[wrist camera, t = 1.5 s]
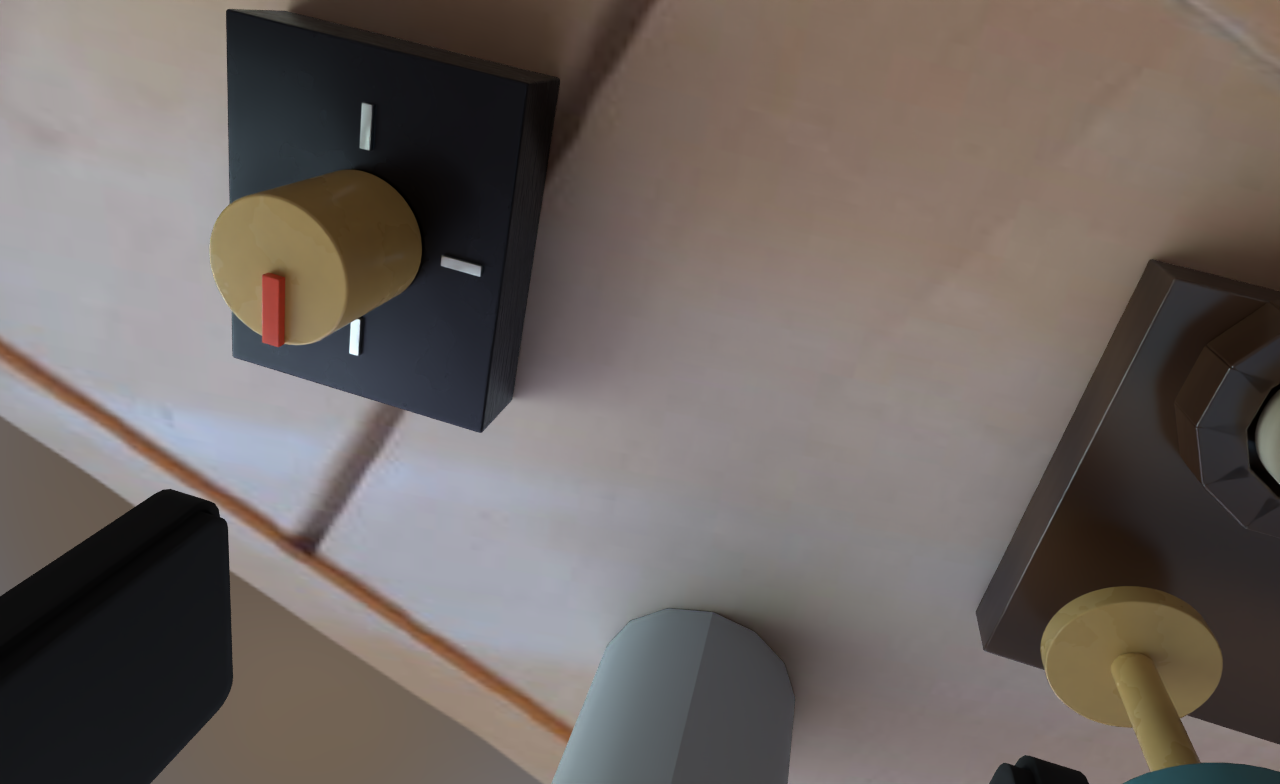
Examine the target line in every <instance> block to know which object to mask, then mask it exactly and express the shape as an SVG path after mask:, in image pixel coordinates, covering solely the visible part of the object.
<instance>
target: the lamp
mask: <svg viewBox="0 0 1280 784" xmlns="http://www.w3.org/2000/svg"><path fill="white" fill-rule="evenodd" d="M1040 651H1041V659H1042V662H1043V666H1044V669H1045V673H1046V676H1047V680H1048V682H1049V684H1050V686H1051V688H1052V690H1053V691H1054V693H1055V694H1056V696H1057V697H1058V698H1059V699H1060V700H1061V701H1062V702H1063V703H1064V704H1065V705H1066V706H1068V707H1069V708H1070V709H1072V710H1073V711H1075V712H1076V713H1078V714H1080V715H1082V716H1084V717H1086V718H1088V719H1090V720H1093V721H1096V722H1099V723H1102V724H1106V725H1111V726H1117V727H1128V728H1133V729H1134V731H1135V734H1136V736H1137V739H1138V741H1139V744H1140V746H1141V749H1142V751H1143V754H1144V756H1145V759H1146V762H1147V764H1148V767H1149V769H1150V772H1149V773H1146V774H1143V775H1141V776H1138V777H1136V778H1133V779H1131V780H1129V781H1127V782H1125V783H1123V784H1280V772H1278V771H1274V770H1271V769H1267V768H1262V767H1256V766H1251V765H1245V764H1233V763H1201V762H1200V760H1199V758H1198V756H1197V754H1196V752H1195V750H1194V747H1193V745H1192V743H1191V741H1190V739H1189V737H1188V735H1187V733H1186V730H1185V728H1184V726H1183V724H1182V722H1181V720H1180V718H1182V717H1184V716H1186V715H1188V714H1189V713H1191V712H1193V711H1194V710H1196V709H1197V708H1199V707H1200V706H1201V705H1202V704H1203V703H1204V702H1206V701H1207V700H1208V699H1209V697H1210V696H1211V695H1212V694H1213V692H1214V691H1215V689H1216V687H1217V686H1218V684H1219V681H1220V678H1221V675H1222V669H1223V657H1222V652H1221V649H1220V646H1219V644H1218V641H1217V640H1216V638H1215V636H1214V635H1213V633H1212V631H1211V630H1210V628H1209V626H1208V625H1207V623H1206V621H1205V620H1204V618H1203V617H1202V616H1201V615H1200V614H1199V613H1198V612H1197V611H1196V610H1195V609H1194V608H1193V607H1192V606H1191V605H1189V604H1188V603H1186V602H1184V601H1183V600H1181V599H1179V598H1177V597H1175V596H1173V595H1171V594H1169V593H1166V592H1163V591H1160V590H1156V589H1152V588H1146V587H1139V586H1118V587H1110V588H1104V589H1100V590H1096V591H1092V592H1090V593H1087V594H1084V595H1082V596H1080V597H1078V598H1076V599H1074V600H1072V601H1071V602H1069V603H1068V604H1066V605H1065V606H1064V607H1063V608H1061V609H1060V610H1059V611H1058V612H1057V613H1056V614H1055V615H1054V616H1053V617H1052V619H1051V620H1050V622H1049V623H1048V625H1047V626H1046V629H1045V631H1044V633H1043V636H1042V640H1041V649H1040Z"/></svg>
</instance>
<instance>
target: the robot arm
mask: <svg viewBox="0 0 1280 784" xmlns="http://www.w3.org/2000/svg"><path fill="white" fill-rule="evenodd" d="M232 681H233V665H232V635H231V605H230V575H229V545H228V526H227V522H226V521H225V519H223V518H221V517H220V515H219V509H218V508H217V506H216V505H215V503H212V502H210V501H207V500H204V499H201V498H198V497H194V496H191V495H188V494H185V493H182V492H178V491H175V490H172V489H167V490H162V491H160V492H158V493H156V494H154V495H152V496H151V497H149V498H148V499H146V500H145V501H143V502H142V503H140V504H139V505H137V506H136V507H134V508H133V509H131V510H130V511H128V512H127V513H125V514H124V515H122V516H121V517H119V518H118V519H116V520H115V521H114V522H112V523H111V524H109V525H107V526H106V527H104V528H103V529H101V530H100V531H98V532H97V533H95V534H94V535H92V536H91V537H89V538H88V539H86V540H85V541H83V542H82V543H80V544H79V545H77V546H76V547H74V548H73V549H71V550H69V551H68V552H66V553H65V554H64V555H62V556H60V557H59V558H57V559H56V560H54V561H53V562H51V563H50V564H48V565H47V566H45V567H44V568H42V569H41V570H39V571H38V572H36V573H35V574H33V575H32V576H30V577H29V578H27V579H26V580H24V581H23V582H21V583H20V584H18V585H17V586H15V587H14V588H12V589H11V590H9V591H8V592H6V593H5V594H3V595H2V596H0V784H150V783H151V782H152V781H153V780H154V779H155V778H156V777H157V776H158V775H159V773H161V771H162V770H163V769H164V768H165V767H166V766H167V765H168V764H169V763H170V762H171V761H172V760H173V759H174V757H175V756H176V755H177V754H178V753H179V752H180V751H181V750H182V749H183V748H184V747H185V746H186V745H187V743H188V742H189V741H190V740H191V739H192V738H193V737H194V736H195V735H196V734H197V733H198V732H199V731H200V730H201V728H202V727H203V726H204V725H205V724H206V723H207V722H208V721H209V720H210V719H211V718H212V716H214V714H215V713H216V712H217V711H218V710H219V709H220V707H221V706H222V705H223V703H224V702H225V700H226V698H227V697H228V694H229V692H230V689H231V686H232ZM989 784H1089V783H1088V780H1087V778H1086V777H1085V776H1084V775H1083V774H1082V773H1081V772H1080V771H1076V770H1073V769H1070V768H1067V767H1064V766H1060V765H1057V764H1054V763H1051V762H1047V761H1044V760H1041V759H1038V758H1035V757H1031V756H1026V755H1025V756H1023V757H1021V758H1020V759H1019V760H1018V761H1017V763H1016V764H1015V766H1014V765H1010V764H1007V763H1003V764H1001V765H1000V766H999V767H998V769H997V770H996V772H995V774H994V776H993V778H992V780H991V782H990V783H989Z"/></svg>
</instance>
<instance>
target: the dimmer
mask: <svg viewBox="0 0 1280 784" xmlns="http://www.w3.org/2000/svg"><path fill="white" fill-rule="evenodd" d="M226 29H227V83H228V136H229V190H230V204H231V203H232V202H234V201H235V200H237V199H239V198H241V197H244V196H247V195H251V194H255V193H258V192H262V191H266V190H269V189H273V188H277V187H280V186H284V185H287V184H291V183H295V182H298V181H302V180H306V179H309V178H313V177H317V176H320V175H324V174H328V173H331V172H335V171H339V170H347V169H348V170H359V171H364V172H367V173H370V174H372V175H374V176H376V177H379V178H381V179H382V180H384V181H385V182H387V183H388V184H389V185H391V186H392V187H393V188H394V189H395V190H396V191H397V192H398V193H399V194H400V195H401V196H402V197H403V198H404V200H405V201H406V202H407V204H408V205H409V207H410V209H411V210H412V212H413V214H414V216H415V218H416V221H417V224H418V227H419V230H420V235H421V242H422V256H421V262H420V266H419V269H418V272H417V274H416V276H415V278H414V280H413V281H412V283H411V284H410V285H409V286H408V287H407V289H406V290H404V291H403V292H402V293H401V294H399V295H397V296H396V297H394V298H392V299H390V300H389V301H387V302H385V303H384V304H382V305H380V306H378V307H377V308H375V309H373V310H372V311H370V312H368V313H366V314H365V315H363V316H361V317H360V318H358V319H356V320H354V321H353V322H351V323H349V324H348V325H346V326H344V327H342V328H341V329H339V330H337V331H335V332H334V333H332V334H330V335H329V336H327V337H325V338H323V339H322V340H320V341H317V342H314V343H311V344H306V345H289V344H284V345H282V346H280V347H276V346H273V345H269V344H266V343H263V342H262V336H261V335H260V334H258V333H256V332H255V331H253V330H252V329H251V328H249V327H248V326H247V325H246V324H244V323H243V322H242V321H241V320H240V319H239V318H238V317H237V316H236V315H235V314H234V312H233V311H232V351H233V357H234V358H238V359H241V360H244V361H247V362H251V363H254V364H257V365H261V366H264V367H267V368H270V369H274V370H277V371H280V372H283V373H287V374H290V375H293V376H296V377H300V378H303V379H306V380H309V381H313V382H316V383H319V384H323V385H326V386H329V387H332V388H336V389H339V390H342V391H345V392H349V393H352V394H355V395H358V396H362V397H365V398H368V399H371V400H375V401H378V402H381V403H385V404H388V405H391V406H394V407H398V408H401V409H404V410H407V411H411V412H414V413H417V414H420V415H424V416H427V417H430V418H433V419H437V420H440V421H443V422H447V423H450V424H453V425H456V426H460V427H463V428H466V429H469V430H473V431H476V432H479V433H481V432H483V431H484V430H485V429H486V428H487V426H488V425H489V424H490V423H491V422H492V421H493V420H494V419H495V418H496V417H497V416H498V415H499V413H500V412H501V411H502V410H503V409H504V408H505V407H506V406H507V405H508V404H509V403H510V402H511V400H512V397H513V390H514V384H515V377H516V370H517V364H518V357H519V350H520V344H521V337H522V330H523V324H524V317H525V310H526V304H527V297H528V290H529V284H530V277H531V270H532V264H533V257H534V250H535V244H536V237H537V230H538V224H539V217H540V210H541V204H542V197H543V190H544V184H545V177H546V170H547V164H548V157H549V150H550V144H551V137H552V130H553V124H554V117H555V110H556V104H557V97H558V90H559V84H560V79H559V78H557V77H553V76H549V75H545V74H541V73H537V72H533V71H529V70H525V69H521V68H517V67H513V66H508V65H504V64H500V63H496V62H492V61H488V60H484V59H480V58H476V57H472V56H468V55H464V54H459V53H455V52H451V51H447V50H443V49H439V48H435V47H431V46H427V45H423V44H419V43H415V42H411V41H406V40H402V39H398V38H394V37H390V36H386V35H382V34H378V33H374V32H370V31H366V30H362V29H357V28H353V27H349V26H345V25H341V24H337V23H333V22H329V21H325V20H321V19H317V18H313V17H309V16H304V15H300V14H296V13H292V12H288V11H275V10H244V9H228V10H227V11H226Z"/></svg>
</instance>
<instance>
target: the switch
mask: <svg viewBox="0 0 1280 784" xmlns="http://www.w3.org/2000/svg"><path fill="white" fill-rule="evenodd" d="M1255 446H1256V451H1257V454H1258V457H1259V459H1260V461H1261V463H1262V465H1263V466H1264V467H1265V469H1266V470H1267V471H1268V472H1269V473H1270V474H1271V476H1272V477H1273V478H1274V479H1275V480H1276V481H1277V482H1278V483H1279V484H1280V389H1279V390H1278V391H1277V392H1276V393H1275V394H1274V395H1273V396H1272V397H1271V398H1270V400H1269V401H1268V402H1267V404H1266V405H1265V407H1264V408H1263V410H1262V412H1261V414H1260V416H1259V419H1258V422H1257V425H1256V430H1255Z"/></svg>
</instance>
